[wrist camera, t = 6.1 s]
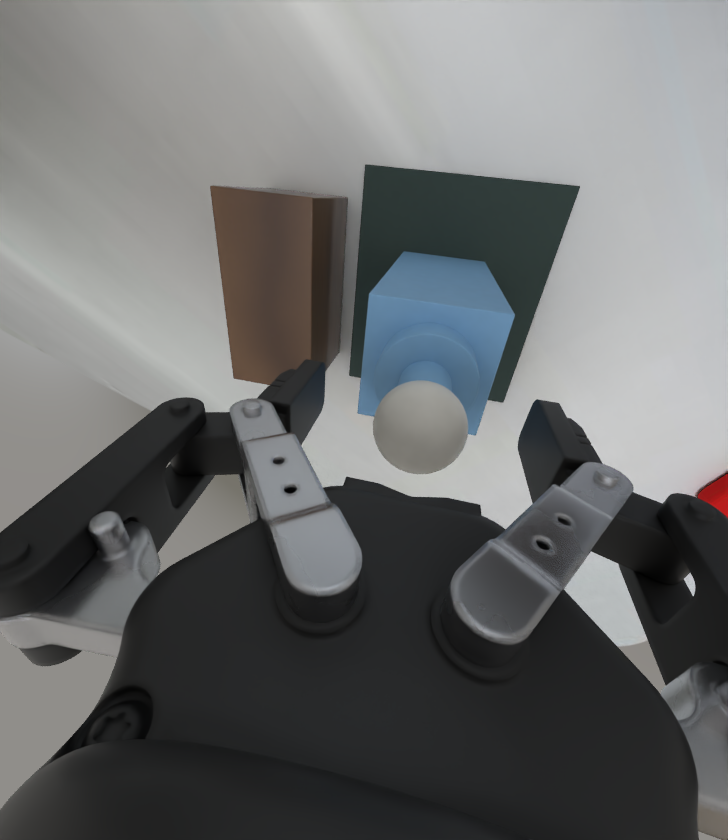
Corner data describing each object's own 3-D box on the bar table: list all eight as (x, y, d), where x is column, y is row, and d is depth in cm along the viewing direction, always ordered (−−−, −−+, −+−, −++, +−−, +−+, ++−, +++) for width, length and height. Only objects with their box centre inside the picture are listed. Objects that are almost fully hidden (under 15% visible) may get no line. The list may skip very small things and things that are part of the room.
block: (276, 342, 33) (233, 378, 26) (269, 188, 26) (209, 185, 20) (339, 352, 32) (310, 392, 26) (347, 197, 26) (312, 197, 19)
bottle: (463, 254, 28) (743, 349, 13) (446, 328, 31) (655, 471, 16) (290, 245, 24) (411, 370, 9) (292, 331, 27) (382, 531, 12)
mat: (350, 374, 33) (349, 375, 33) (366, 164, 24) (365, 164, 24) (502, 401, 31) (503, 402, 31) (578, 186, 23) (580, 186, 22)
